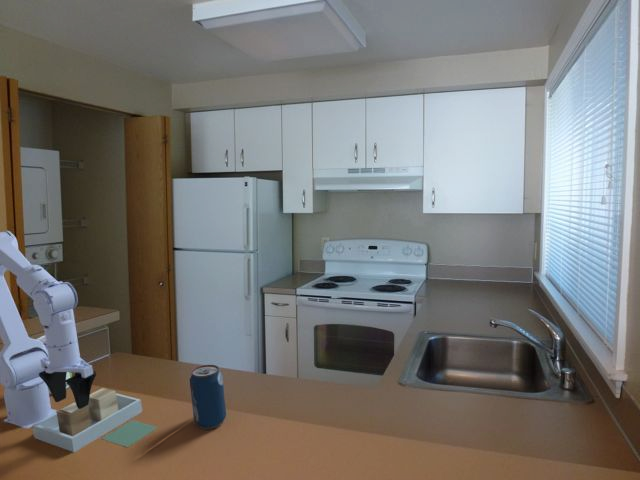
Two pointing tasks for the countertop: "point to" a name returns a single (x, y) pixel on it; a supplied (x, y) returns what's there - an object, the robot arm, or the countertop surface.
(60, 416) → the brown wooden block
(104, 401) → the birch block
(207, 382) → the soda can
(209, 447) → the countertop surface
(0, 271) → the robot arm
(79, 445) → the bin
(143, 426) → the mat
